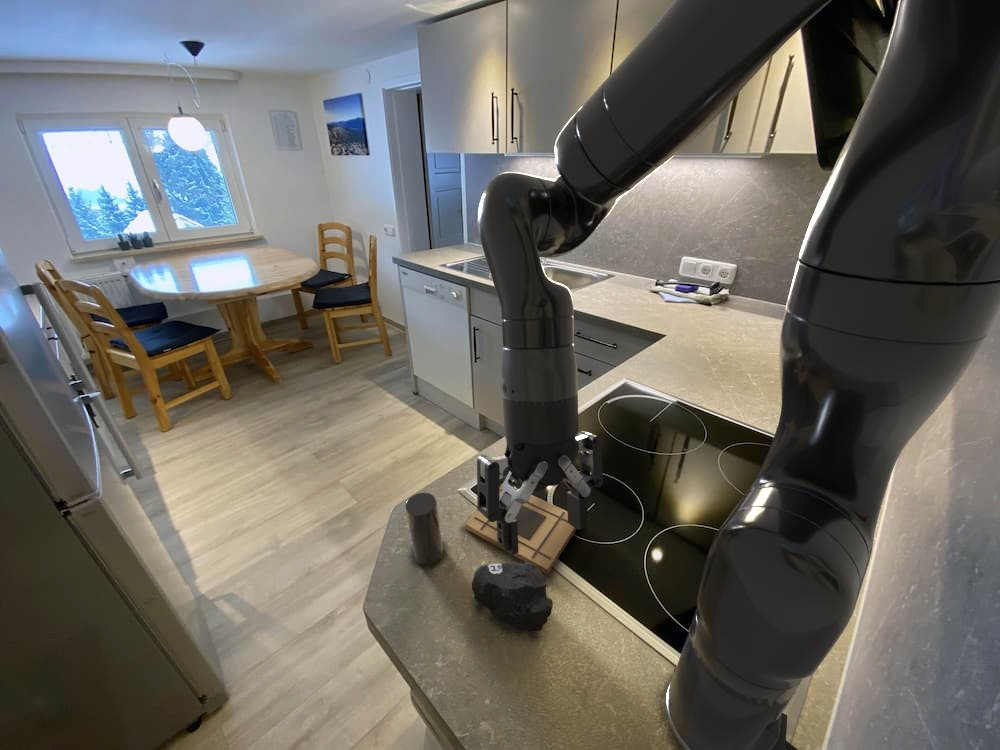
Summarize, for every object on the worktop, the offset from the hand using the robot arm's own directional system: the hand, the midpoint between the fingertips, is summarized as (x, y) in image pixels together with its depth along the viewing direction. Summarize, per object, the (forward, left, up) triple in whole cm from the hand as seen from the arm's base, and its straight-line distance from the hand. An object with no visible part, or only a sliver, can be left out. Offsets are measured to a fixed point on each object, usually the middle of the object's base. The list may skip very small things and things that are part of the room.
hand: (545, 537), depth 44 cm
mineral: (+6, -3, -21) cm, 22 cm away
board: (+12, -15, -21) cm, 29 cm away
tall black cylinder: (+22, -2, -21) cm, 30 cm away
